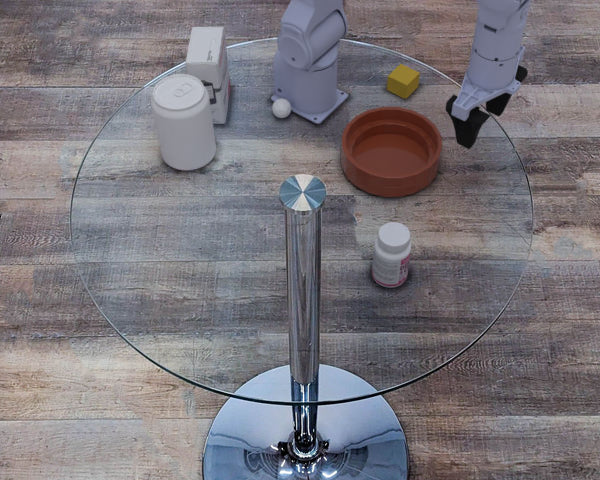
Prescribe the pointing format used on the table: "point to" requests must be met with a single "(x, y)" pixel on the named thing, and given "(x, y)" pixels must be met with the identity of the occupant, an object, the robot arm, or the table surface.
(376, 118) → the bowl
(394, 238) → the pill bottle
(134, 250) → the table surface
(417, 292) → the table surface
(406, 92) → the cube
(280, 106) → the white ball
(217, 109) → the ink box
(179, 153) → the beverage can
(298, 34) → the robot arm
